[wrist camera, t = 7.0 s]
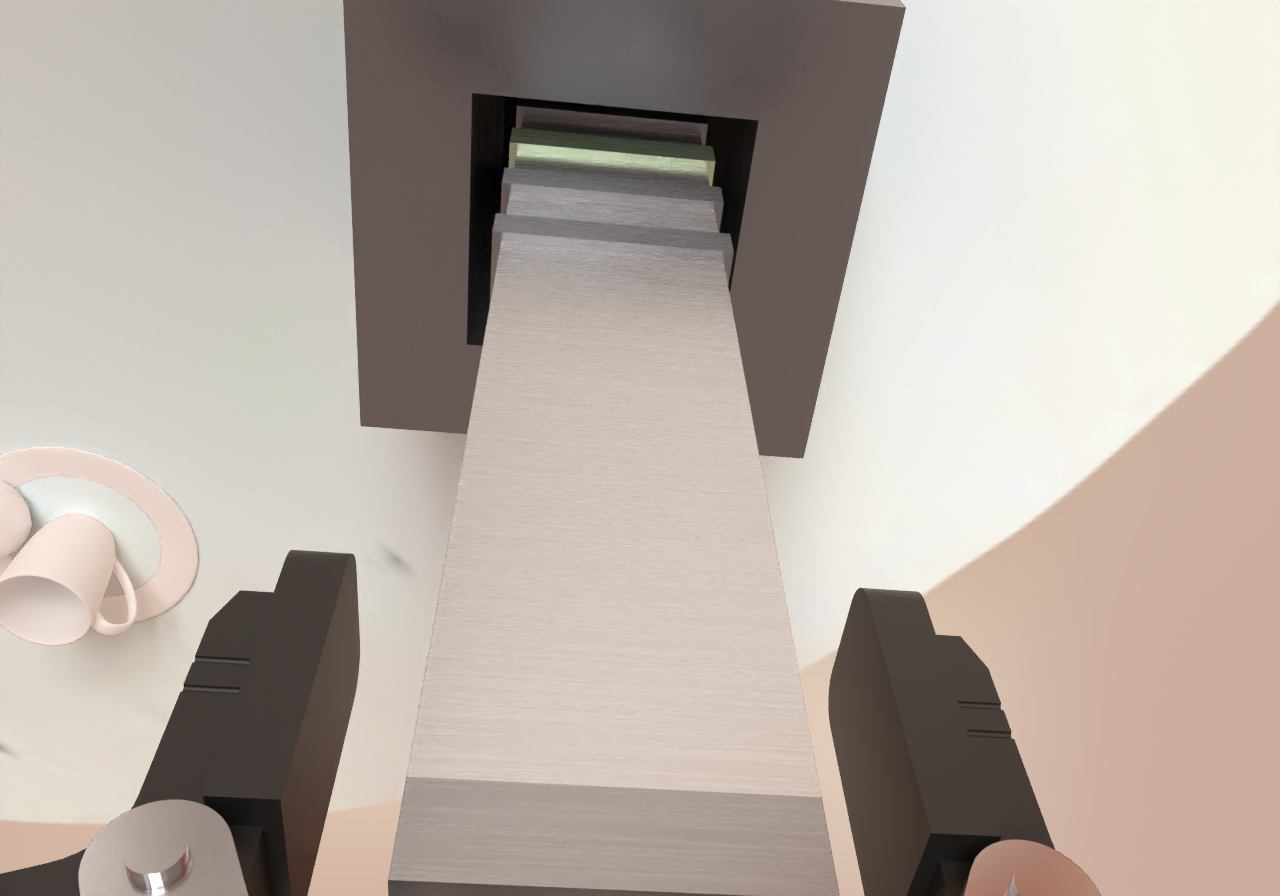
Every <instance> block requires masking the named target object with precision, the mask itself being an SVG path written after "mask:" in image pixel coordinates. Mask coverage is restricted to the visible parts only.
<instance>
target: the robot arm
mask: <svg viewBox="0 0 1280 896" xmlns="http://www.w3.org/2000/svg"><path fill="white" fill-rule="evenodd" d="M359 660H360V636H359V615H358V594H357V573H356V561H355V556H354V554H347V553H331V552H316V551H300V550H291V551H290V552H289V553H288V555H287V557H286V559H285V562H284V565H283V568H282V571H281V573H280V576H279V579H278V582H277V585H276V588H275V591H274V593H273V592H256V591H239V592H238V593H237V594H236V595H235V596H234V597H233V598H232V599H231V600H230V601H229V602H228V603H227V604H226V605H225V606H224V607H223V608H222V609H221V610H220V611H219V612H218V613H217V614H216V615H215V616H214V617H213V618H211V619H210V620H209V623H208V625H207V628H206V630H205V633H204V635H203V638H202V640H201V643H200V645H199V648H198V650H197V653H196V655H195V662H194V663H192V665H191V667H190V670H189V672H188V675H187V677H186V680H185V682H184V689H183V692H180V695H179V697H178V699H177V702H176V704H175V707H174V709H173V712H172V714H171V717H170V719H169V722H168V724H167V727H166V729H165V732H164V734H163V736H162V739H161V741H160V744H159V746H158V749H157V751H156V754H155V756H154V759H153V761H152V764H151V766H150V769H149V771H148V774H147V776H146V778H145V781H144V783H143V786H142V788H141V791H140V793H139V796H138V798H137V800H136V802H135V804H134V806H133V807H132V808H131V810H129V811H127V812H125V813H123V814H122V815H120V816H118V817H117V818H116V819H114V820H113V821H111V822H110V823H109V824H107V825H106V826H105V827H104V828H103V829H102V830H101V831H100V832H99V833H98V834H97V835H96V836H95V838H94V839H93V840H92V841H91V843H90V844H89V846H88V848H86V849H84V850H82V851H80V852H78V853H76V854H74V855H71V856H69V857H66V858H64V859H60V860H57V861H53V862H50V863H46V864H42V865H38V866H34V867H29V868H24V869H20V870H16V871H12V872H7V873H3V874H0V896H307V894H308V890H309V886H310V882H311V877H312V873H313V869H314V865H315V861H316V856H317V853H318V848H319V844H320V840H321V836H322V832H323V828H324V823H325V819H326V815H327V811H328V807H329V802H330V798H331V794H332V790H333V786H334V782H335V777H336V773H337V769H338V765H339V761H340V757H341V752H342V748H343V744H344V740H345V736H346V731H347V727H348V723H349V719H350V715H351V711H352V706H353V702H354V698H355V693H356V687H357V681H358V672H359ZM1000 706H1001V702H1000V699H999V697H998V694H997V691H996V688H995V686H994V683H993V680H992V678H991V675H990V672H989V669H988V668H987V667H986V665H985V664H984V663H983V662H982V661H981V660H980V659H979V658H978V656H977V655H976V654H975V653H974V652H973V650H972V649H971V648H970V647H969V646H968V645H967V643H965V641H964V640H963V639H962V638H961V637H960V636H945V635H936V634H935V631H934V628H933V625H932V622H931V619H930V616H929V613H928V609H927V606H926V603H925V601H924V598H923V597H922V595H921V594H920V593H919V592H914V591H898V590H883V589H867V588H859V589H858V590H857V591H856V592H855V594H854V597H853V600H852V603H851V606H850V610H849V613H848V617H847V620H846V624H845V628H844V631H843V635H842V638H841V642H840V645H839V649H838V652H837V656H836V660H835V663H834V667H833V670H832V674H831V679H830V686H829V720H830V727H831V732H832V737H833V742H834V747H835V751H836V757H837V761H838V766H839V771H840V776H841V781H842V786H843V791H844V796H845V801H846V806H847V810H848V816H849V821H850V825H851V831H852V835H853V840H854V845H855V849H856V855H857V860H858V865H859V870H860V874H861V880H862V885H863V889H864V895H865V896H1101V894H1100V892H1099V890H1098V889H1097V887H1096V885H1095V884H1094V883H1093V881H1092V880H1091V879H1090V877H1089V876H1088V875H1087V874H1086V873H1085V872H1084V871H1083V870H1082V869H1081V868H1080V867H1079V866H1078V865H1077V864H1076V863H1074V862H1073V861H1072V860H1071V859H1069V858H1068V857H1066V856H1065V855H1063V854H1061V853H1060V852H1058V851H1056V850H1055V848H1054V845H1053V843H1052V841H1051V838H1050V836H1049V833H1048V830H1047V827H1046V825H1045V822H1044V819H1043V816H1042V814H1041V811H1040V808H1039V806H1038V803H1037V800H1036V798H1035V795H1034V792H1033V789H1032V786H1031V784H1030V781H1029V778H1028V776H1027V773H1026V770H1025V768H1024V765H1023V762H1022V759H1021V757H1020V754H1019V751H1018V748H1017V746H1016V743H1015V740H1014V739H1011V729H1010V727H1009V724H1008V721H1007V719H1006V716H1005V713H1004V711H1003V710H1001V708H1000Z"/></svg>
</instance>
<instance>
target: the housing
mask: <svg viewBox="0 0 1280 896" xmlns="http://www.w3.org/2000/svg"><path fill="white" fill-rule="evenodd" d="M343 5H344V30H345V54H346V79H347V103H348V128H349V152H350V176H351V201H352V225H353V250H354V274H355V299H356V323H357V348H358V372H359V397H360V421H361V426H367V427H381V428H394V429H408V430H422V431H436V432H449V433H463V434H467V432H468V426H469V421H470V415H471V409H472V404H473V398H474V393H475V387H476V381H477V376H478V370H479V364H480V359H481V353H482V347H483V342H484V336H485V331H486V325H487V319H488V314H489V308H490V285H491V256H492V230H493V225H494V220H495V215H496V213H498V214H501V191H502V179H503V174H504V169H505V168H503V167H502V160H503V134H504V107H505V96H509V97H519V98H530V99H540V100H551V101H561V102H571V103H582V104H592V105H603V106H613V107H624V108H634V109H645V110H655V111H665V112H676V113H686V114H697V115H706V118H707V122H708V127H707V134H706V141H705V146H712V147H713V152H714V157H715V168H714V174H713V181H712V186H713V187H721V192H722V197H723V202H724V204H723V211H722V217H721V224H720V230H719V233H725V234H730V236H731V241H732V246H733V251H734V254H733V260H732V266H731V272H730V278H729V284H728V288H729V294H730V299H731V305H732V310H733V316H734V321H735V327H736V332H737V337H738V343H739V348H740V354H741V359H742V365H743V370H744V376H745V381H746V387H747V392H748V398H749V403H750V408H751V414H752V419H753V425H754V430H755V436H756V441H757V447H758V452H759V455H765V456H778V457H792V458H803V457H804V453H805V448H806V444H807V439H808V435H809V431H810V426H811V422H812V418H813V413H814V409H815V404H816V400H817V396H818V391H819V387H820V382H821V378H822V374H823V369H824V365H825V360H826V356H827V352H828V347H829V343H830V338H831V334H832V330H833V325H834V321H835V316H836V312H837V308H838V303H839V299H840V295H841V290H842V286H843V281H844V277H845V273H846V268H847V264H848V259H849V255H850V251H851V246H852V242H853V237H854V233H855V229H856V224H857V220H858V215H859V211H860V207H861V202H862V198H863V194H864V189H865V185H866V180H867V176H868V172H869V167H870V163H871V158H872V154H873V150H874V145H875V141H876V136H877V132H878V128H879V123H880V119H881V114H882V110H883V106H884V101H885V97H886V92H887V88H888V84H889V79H890V75H891V71H892V66H893V62H894V57H895V53H896V49H897V44H898V40H899V35H900V31H901V27H902V22H903V18H904V13H905V9H906V7H905V6H904V5H903V3H902V2H901V1H900V0H343Z"/></svg>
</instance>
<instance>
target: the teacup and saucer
mask: <svg viewBox="0 0 1280 896" xmlns="http://www.w3.org/2000/svg"><path fill="white" fill-rule="evenodd" d="M50 476H68V477H77V478H82V479H87V480H90V481H94V482H97V483H100V484H102V485H105V486H107V487H109V488H111V489H113V490H115V491H117V492H119V493H121V494H122V495H124V496H125V497H127V498H128V499H130V500H131V501H132V502H134V503H135V504H136V505H137V506H138V507H139V508H140V509H141V510H142V511H143V512H144V513H145V514H146V515H147V516H148V518H149V519H150V520H151V522H152V523H153V525H154V527H155V529H156V531H157V533H158V535H159V539H160V542H161V561H160V564H159V567H158V569H157V571H156V573H155V574H154V576H153V577H152V578H151V579H150V580H149V581H148V582H147V583H146V584H144V585H143V586H141V587H140V588H138V589H136V590H134V588H133V585H132V583H131V581H130V579H129V577H128V575H127V573H126V571H125V570H124V568H123V567H122V565H121V564H120V562H119V561H118V560H117V558H116V549H115V541H114V537H113V535H112V533H111V531H110V530H109V529H108V527H107V526H106V525H105V524H103V523H102V522H101V521H99V520H97V519H95V518H93V517H91V516H88V515H84V514H67V515H63V516H60V517H58V518H56V519H54V520H52V521H50V522H49V523H47V524H46V525H45V526H43V527H42V528H41V529H40V530H39V531H38V532H37V533H36V534H35V535H34V536H33V537H32V538H31V539H30V540H29V541H28V542H27V543H26V545H25V546H24V547H23V548H22V549H21V551H20V552H19V553H18V554H17V556H16V557H15V558H14V559H13V558H12V557H11V556H10V553H12V552H14V551H15V550H16V549H18V548H19V547H20V546H21V545H22V544H23V543H24V541H25V540H26V538H27V537H28V535H29V532H30V530H31V526H32V522H31V516H30V511H29V508H28V505H27V503H26V501H25V500H24V498H23V497H22V496H21V494H20V493H19V492H18V491H17V490H16V489H15V488H17V487H18V486H20V485H22V484H24V483H26V482H28V481H31V480H34V479H38V478H43V477H50ZM197 567H198V548H197V542H196V539H195V535H194V533H193V530H192V528H191V526H190V524H189V522H188V520H187V518H186V517H185V515H184V513H183V512H182V511H181V509H180V508H179V507H178V505H177V504H176V503H175V502H174V501H173V500H172V498H171V497H170V496H169V495H168V494H167V493H166V492H165V491H163V490H162V489H161V488H160V487H159V486H158V485H156V484H155V483H154V482H153V481H151V480H150V479H148V478H147V477H145V476H144V475H142V474H141V473H139V472H138V471H136V470H134V469H132V468H130V467H128V466H126V465H124V464H122V463H120V462H118V461H116V460H113V459H111V458H108V457H105V456H102V455H99V454H96V453H92V452H88V451H84V450H79V449H73V448H66V447H49V446H48V447H31V448H24V449H19V450H15V451H11V452H8V453H5V454H3V455H0V624H1V625H2V626H3V627H4V628H5V629H7V630H8V631H9V632H11V633H12V634H14V635H16V636H18V637H20V638H22V639H24V640H27V641H30V642H33V643H37V644H42V645H64V644H69V643H72V642H74V641H76V640H78V639H80V638H81V637H83V636H84V635H85V634H86V633H87V631H88V630H89V628H90V627H91V628H93V629H94V630H95V631H97V632H98V633H100V634H103V635H108V636H113V635H119V634H122V633H124V632H125V631H127V630H128V629H129V628H130V627H131V626H132V624H133V623H134V622H139V621H143V620H146V619H149V618H152V617H154V616H157V615H159V614H161V613H163V612H165V611H166V610H168V609H169V608H171V607H172V606H174V605H175V604H176V603H177V602H178V601H180V600H181V599H182V597H183V596H184V595H185V594H186V593H187V591H188V590H189V588H190V587H191V585H192V583H193V581H194V578H195V576H196V572H197ZM112 572H113V573H114V574H115V576H116V577H117V579H118V580H119V582H120V584H121V586H122V588H123V591H124V593H125V594H123V595H118V596H112V597H103V596H104V594H105V591H106V589H107V586H108V584H109V581H110V578H111V574H112Z"/></svg>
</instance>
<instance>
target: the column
mask: <svg viewBox="0 0 1280 896" xmlns="http://www.w3.org/2000/svg"><path fill="white" fill-rule="evenodd" d="M707 127H708V122H707V118H706V115H697V114H686V113H676V112H665V111H655V110H645V109H634V108H624V107H613V106H603V105H592V104H582V103H571V102H561V101H551V100H540V99H530V98H519V97H518V102H517V113H516V128H512V133H511V138H510V147H509V168H505V169H504V174H503V179H502V191H501V214H498V213H496V215H495V220H494V225H493V230H492V256H491V285H490V308H489V314H488V319H487V325H486V331H485V336H484V342H483V347H482V353H481V359H480V364H479V370H478V376H477V381H476V387H475V393H474V398H473V404H472V409H471V415H470V421H469V426H468V432H467V438H466V443H465V449H464V455H463V460H462V466H461V472H460V477H459V483H458V488H457V494H456V500H455V505H454V511H453V517H452V522H451V528H450V534H449V539H448V545H447V550H446V556H445V562H444V567H443V573H442V579H441V584H440V590H439V596H438V601H437V607H436V613H435V618H434V624H433V629H432V635H431V641H430V646H429V652H428V658H427V663H426V669H425V675H424V680H423V686H422V691H421V697H420V703H419V708H418V714H417V720H416V725H415V731H414V737H413V742H412V748H411V754H410V759H409V765H408V770H407V776H406V782H405V787H404V793H403V799H402V804H401V810H400V816H399V821H398V827H397V832H396V838H395V844H394V849H393V856H392V861H391V866H390V872H389V878H388V893H389V896H840V895H839V889H838V883H837V878H836V873H835V867H834V862H833V856H832V851H831V845H830V840H829V835H828V829H827V823H826V819H825V812H824V807H823V802H822V796H821V791H820V786H819V780H818V774H817V769H816V763H815V758H814V752H813V747H812V742H811V736H810V731H809V725H808V720H807V714H806V709H805V703H804V698H803V693H802V687H801V681H800V676H799V671H798V665H797V660H796V654H795V649H794V643H793V638H792V632H791V627H790V621H789V616H788V610H787V605H786V600H785V594H784V589H783V583H782V578H781V572H780V567H779V561H778V556H777V550H776V545H775V539H774V534H773V529H772V523H771V518H770V512H769V507H768V501H767V496H766V490H765V485H764V479H763V474H762V469H761V463H760V458H759V452H758V447H757V441H756V436H755V430H754V425H753V419H752V414H751V408H750V403H749V398H748V392H747V387H746V381H745V376H744V370H743V365H742V359H741V354H740V348H739V343H738V337H737V332H736V327H735V321H734V316H733V310H732V305H731V299H730V294H729V288H728V284H729V278H730V272H731V266H732V260H733V254H734V251H733V246H732V241H731V236H730V234H725V233H719V230H720V224H721V217H722V211H723V204H724V202H723V197H722V192H721V187H713V186H712V181H713V174H714V168H715V157H714V152H713V147H712V146H705V141H706V134H707Z"/></svg>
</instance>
